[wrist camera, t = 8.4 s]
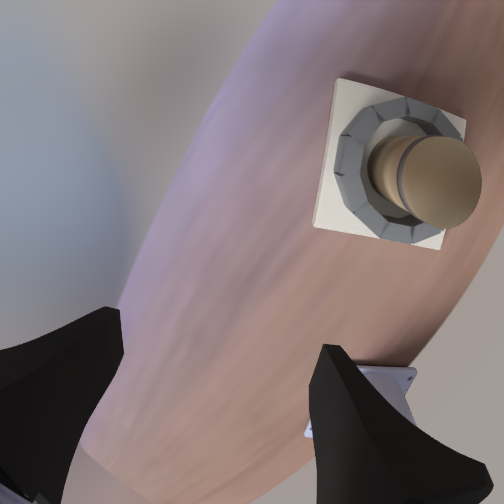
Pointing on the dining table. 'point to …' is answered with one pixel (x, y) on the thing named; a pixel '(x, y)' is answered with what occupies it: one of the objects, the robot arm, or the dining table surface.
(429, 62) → the dining table surface
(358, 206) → the collar stand
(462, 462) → the robot arm
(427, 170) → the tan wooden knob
